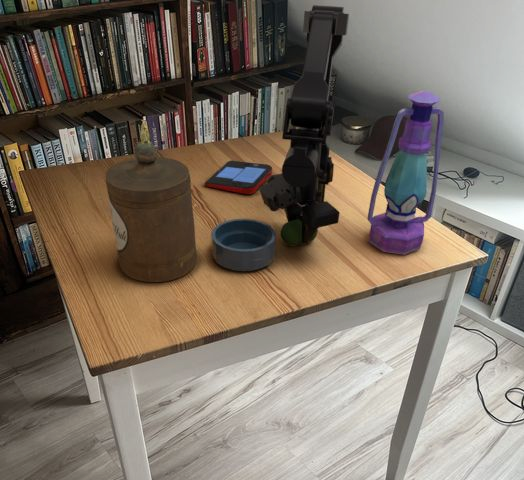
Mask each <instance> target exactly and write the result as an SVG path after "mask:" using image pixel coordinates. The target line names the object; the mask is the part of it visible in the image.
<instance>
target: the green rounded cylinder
mask: <svg viewBox="0 0 524 480" xmlns="http://www.w3.org/2000/svg"><path fill="white" fill-rule="evenodd" d="M318 231H319V228H318V229H317V230H316V232H315V233H314V235H313V236H312V238H311V239H310V241H309V242H308V243H310V242H313V240H315V238H316V237H317V235H318ZM279 236H280V239H281V241H282V242H283V243H284V244H285V245H287V246H289V247H290V246H291V247H295V246H299V245H300V246H301V245H304V244H303V242H302V222H301V221H300V220H298V219H297V220H292V221H289V222H288V221H287V222H285V223H284V224H283V225H282V226H281V228H280V231H279Z"/></svg>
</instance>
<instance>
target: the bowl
mask: <svg viewBox="0 0 524 480" xmlns="http://www.w3.org/2000/svg"><path fill="white" fill-rule="evenodd" d="M210 237H211V238H210V239H211V255H212V259H213V260H214V261H215V263H216V264H218V265H219V266H221V267H222V268H225V269H228V270H230V271H237V272H250V271H251V272H252V271H256V270H260V269H263V268H265V267H267V266H269V265H270V264H271V263H272V262H273V261H274V260H275V256H276V247H277V246H276V245H277V233H276V230H275V229H274V228H273V227H272V226H271V225H270V224H269V223H266V222H264V221H261V220H258V219H253V218H233V219H227V220H225V221H223V222H221V223H218V224H217V225H216V226H214V227H213V229H212V231H211V233H210Z"/></svg>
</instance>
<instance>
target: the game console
mask: <svg viewBox="0 0 524 480" xmlns="http://www.w3.org/2000/svg"><path fill="white" fill-rule="evenodd" d="M272 175H273V167H272V165H270V164H267V163H259V162H258V163H256V162H248V161H241V160H239V161H238V160H229V161H226V163H225V164H224V165H223V166H221V168H219V169H217V170H216V172H215V173H214V174H212V176H210V177H209V178H208V179H207V180H206V181H205V182H204V185H205V186H206V187H207V188H212V189H216V190H222V191H227V192H232V193H238V194H242V195H252V194H254V193H255V192H257V190H258V189H260V187H262V186H263V185H264V183H265V182H266V181H268V179H269V178H270V177H271V176H272Z"/></svg>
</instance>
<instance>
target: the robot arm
mask: <svg viewBox="0 0 524 480" xmlns="http://www.w3.org/2000/svg"><path fill="white" fill-rule="evenodd" d="M344 8H345V7H344V6H335V5H334V6H332V5H318V4H317V5H316V4H313V5H312V7H311V10H309V11H308V10H304V12H303V13H304V14H303V25H302V33H305V34H306V42H307V47H306V52H305V58H304V64H303V69H302V75H301V77H300V78H299V79H298V80H297V81H296V82H295V83H294V84H293V86H292V90H291V95H290V97H287V100H286V104H285V105H286V106H285V112H284V113H285V114H284V120H283V121H284V122H283V128H282V137H281V139H282V140H287V141H290V143H289V144H290V145H289V148H288V151H287V153H286V155H285V158H284V161H283V163H282V167H281V173H277V174H271V175H270V176H269V177H268V179H267V183H265V184H262V185H261V186H260V187H259V188H258V189H259V193H260V196H261V200H262V202H263V204H264V206H266V207H267V208H268V209H269V211H272V212H277V211H279V210H280V209H281V210H284V212H285V217H286V221H287V222H289V221H292V220H297V219H298V220H300V221H301V222H302V242H303V244H302V245H306V244H309V243H310V242H311V241H310V239H311V238H312V236H313V235H314V233H315V232H316V230H317V229H318V230H319V228H322V227H323V228H324V227H327V226H328V227H329V226H331V225H337V224H338V223H339V221H340V215H341V214H340V211H339V210H338V208H336V207H334V206H333V205H332V204H331V203H330V202H328V201H327V200H326V201H325V192H326V186H329V184H330V183H333V180H334V171H335V169H334V168H335V163H334V162H333V158H332V156H330V146H329V144H328V141H327V138H328V137H330V136H331V135H332V134H331V133H332V126H333V119H334V113H335V108H334V107H333V103H332V101H331V100H329V98H330V97H329V96H330V88H331V80H332V79H331V78H332V71H333V70H332V69H333V62H334V61H333V60H334V57H336V55H337V53H338V51H340V49H341V47H342V46H343V43H344V36H347V35H348V28H349V20H350V13H345V12H344V10H345V9H344ZM290 125H291V126H292V127H291V128H290V127H289V126H290ZM293 127H294V128H293ZM309 241H310V242H309Z"/></svg>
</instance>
